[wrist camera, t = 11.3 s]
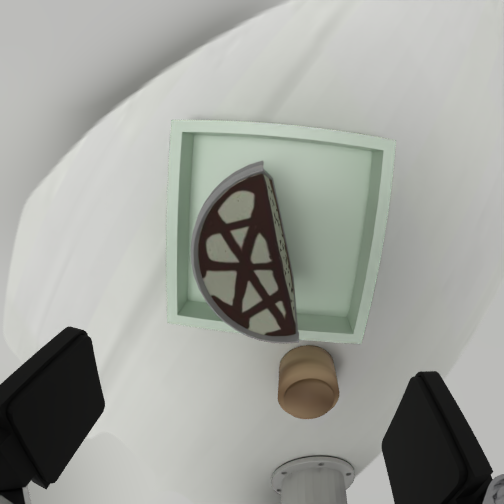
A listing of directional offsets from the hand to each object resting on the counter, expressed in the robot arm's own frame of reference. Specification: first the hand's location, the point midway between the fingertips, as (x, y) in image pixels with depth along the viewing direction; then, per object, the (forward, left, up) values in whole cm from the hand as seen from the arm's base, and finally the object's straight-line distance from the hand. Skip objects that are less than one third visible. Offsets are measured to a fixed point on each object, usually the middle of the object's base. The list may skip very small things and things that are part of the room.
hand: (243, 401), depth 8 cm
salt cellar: (-15, -5, -22) cm, 27 cm away
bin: (0, 0, -22) cm, 22 cm away
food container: (0, +2, -22) cm, 22 cm away
